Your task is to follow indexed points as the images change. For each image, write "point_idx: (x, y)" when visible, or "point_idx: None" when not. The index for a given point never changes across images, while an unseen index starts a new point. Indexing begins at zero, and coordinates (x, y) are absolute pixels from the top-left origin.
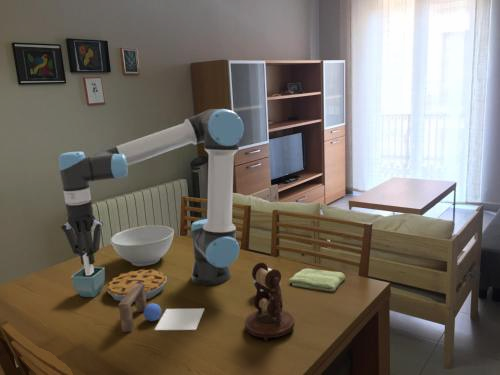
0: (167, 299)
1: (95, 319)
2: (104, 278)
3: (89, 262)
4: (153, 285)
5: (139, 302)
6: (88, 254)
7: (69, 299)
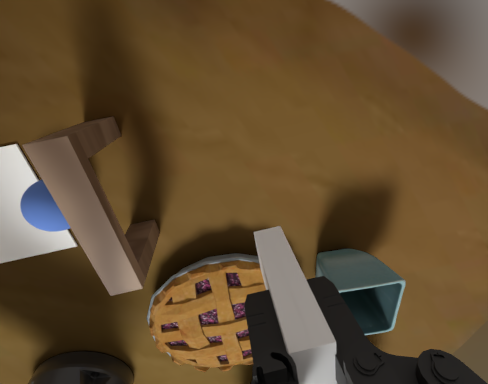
0: None
1: (246, 162)
2: None
3: (271, 302)
4: (162, 315)
5: (135, 237)
6: (265, 374)
7: (375, 232)
